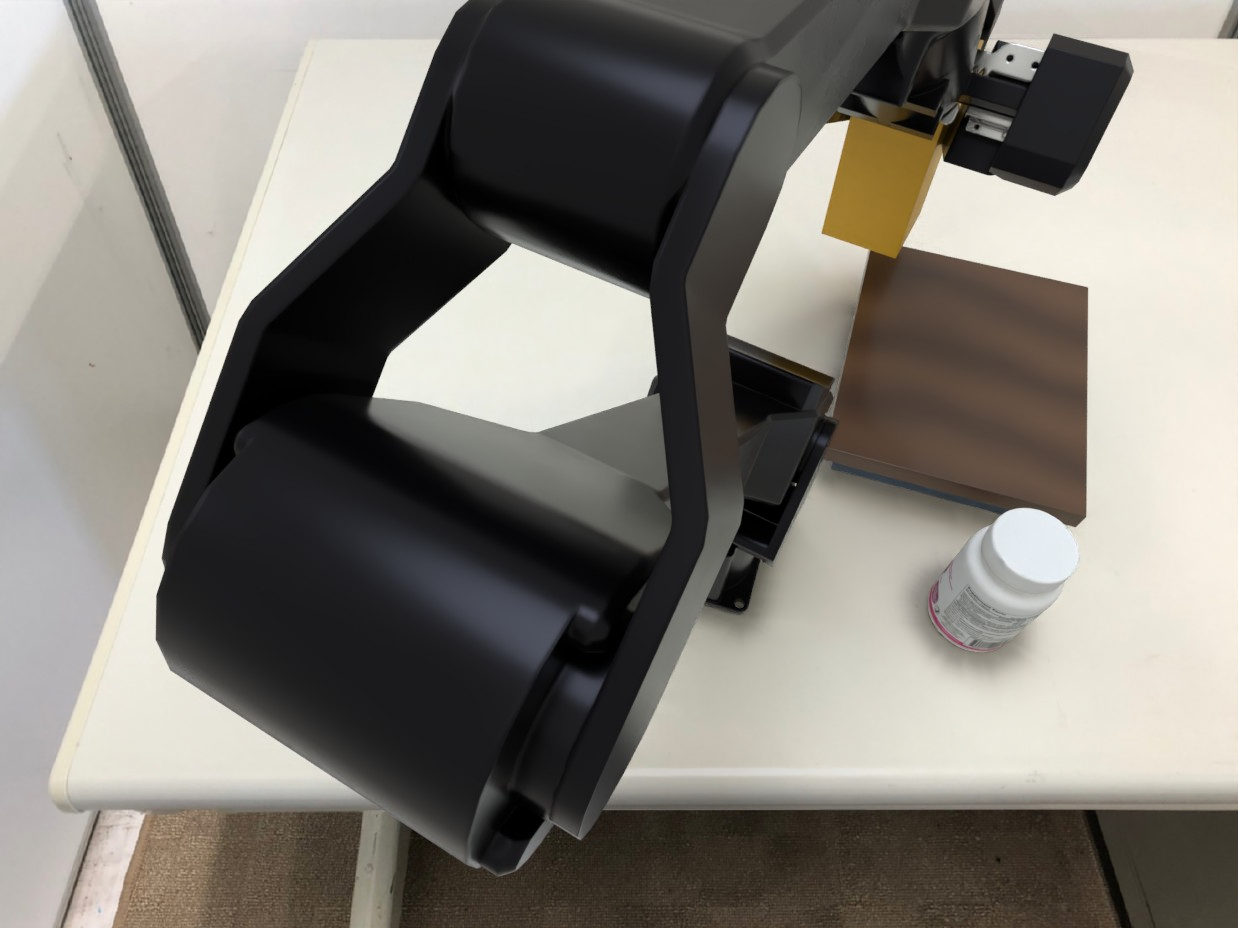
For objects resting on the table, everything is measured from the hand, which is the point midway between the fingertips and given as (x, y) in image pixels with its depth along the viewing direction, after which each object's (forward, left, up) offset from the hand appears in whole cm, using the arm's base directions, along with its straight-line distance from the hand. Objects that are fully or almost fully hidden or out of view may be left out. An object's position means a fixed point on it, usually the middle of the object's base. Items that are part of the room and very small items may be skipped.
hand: (907, 120), depth 47 cm
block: (-1, 0, -7) cm, 7 cm away
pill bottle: (-24, -10, -13) cm, 29 cm away
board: (-10, -7, -13) cm, 18 cm away
